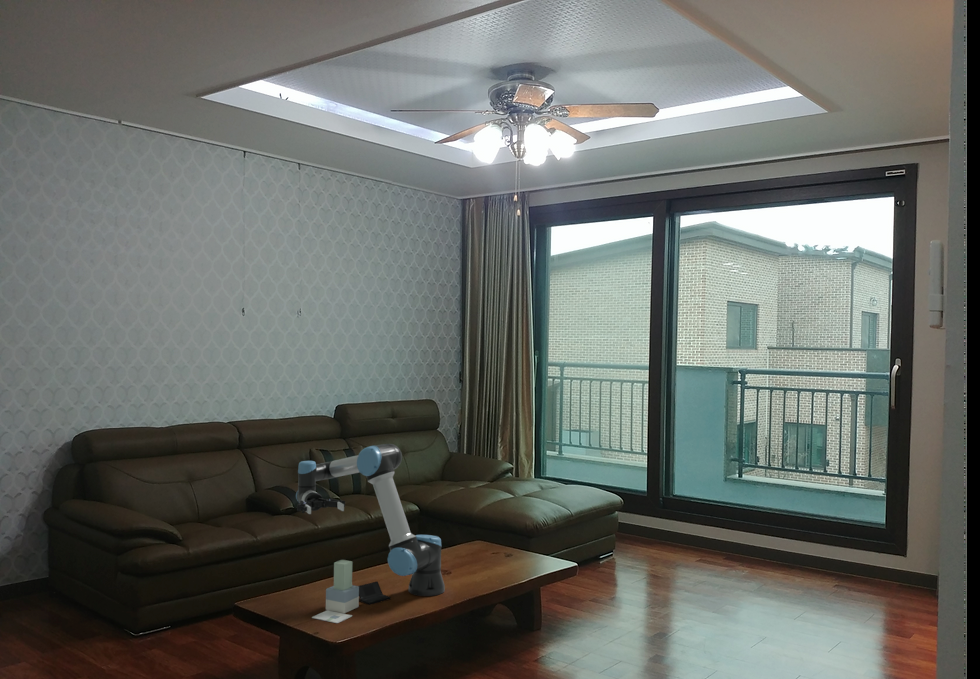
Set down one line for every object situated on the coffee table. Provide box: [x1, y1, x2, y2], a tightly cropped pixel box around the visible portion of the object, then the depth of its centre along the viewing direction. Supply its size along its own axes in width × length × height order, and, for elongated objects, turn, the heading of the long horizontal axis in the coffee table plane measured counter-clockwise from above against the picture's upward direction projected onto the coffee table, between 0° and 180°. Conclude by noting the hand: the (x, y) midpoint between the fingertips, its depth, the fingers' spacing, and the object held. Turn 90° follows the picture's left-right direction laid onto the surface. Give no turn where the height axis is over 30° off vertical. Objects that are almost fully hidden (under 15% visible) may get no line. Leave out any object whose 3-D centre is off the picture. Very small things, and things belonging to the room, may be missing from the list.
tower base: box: [325, 584, 360, 614], centre depth 303 cm, size 9×9×8 cm
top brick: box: [333, 559, 353, 590], centre depth 303 cm, size 5×5×10 cm
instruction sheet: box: [311, 610, 353, 624], centre depth 293 cm, size 12×9×1 cm
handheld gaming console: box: [358, 581, 391, 606], centre depth 315 cm, size 12×7×10 cm
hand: (326, 509), depth 315 cm, fingers open, 13 cm apart
